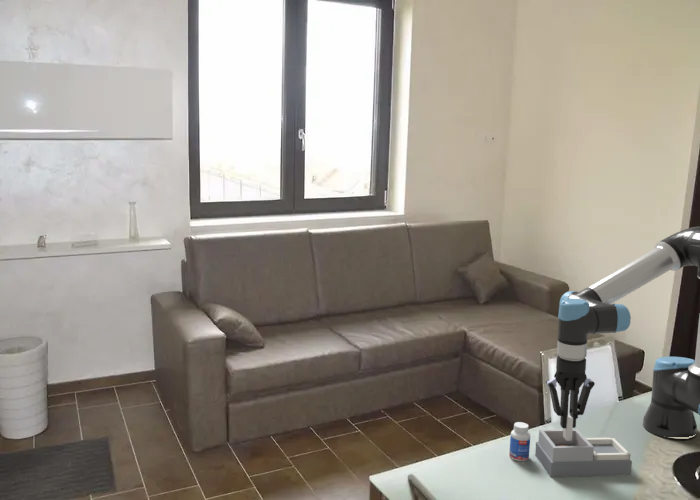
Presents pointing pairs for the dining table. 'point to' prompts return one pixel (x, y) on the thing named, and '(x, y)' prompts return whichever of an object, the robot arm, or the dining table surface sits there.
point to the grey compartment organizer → (581, 455)
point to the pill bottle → (520, 442)
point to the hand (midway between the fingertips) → (567, 438)
